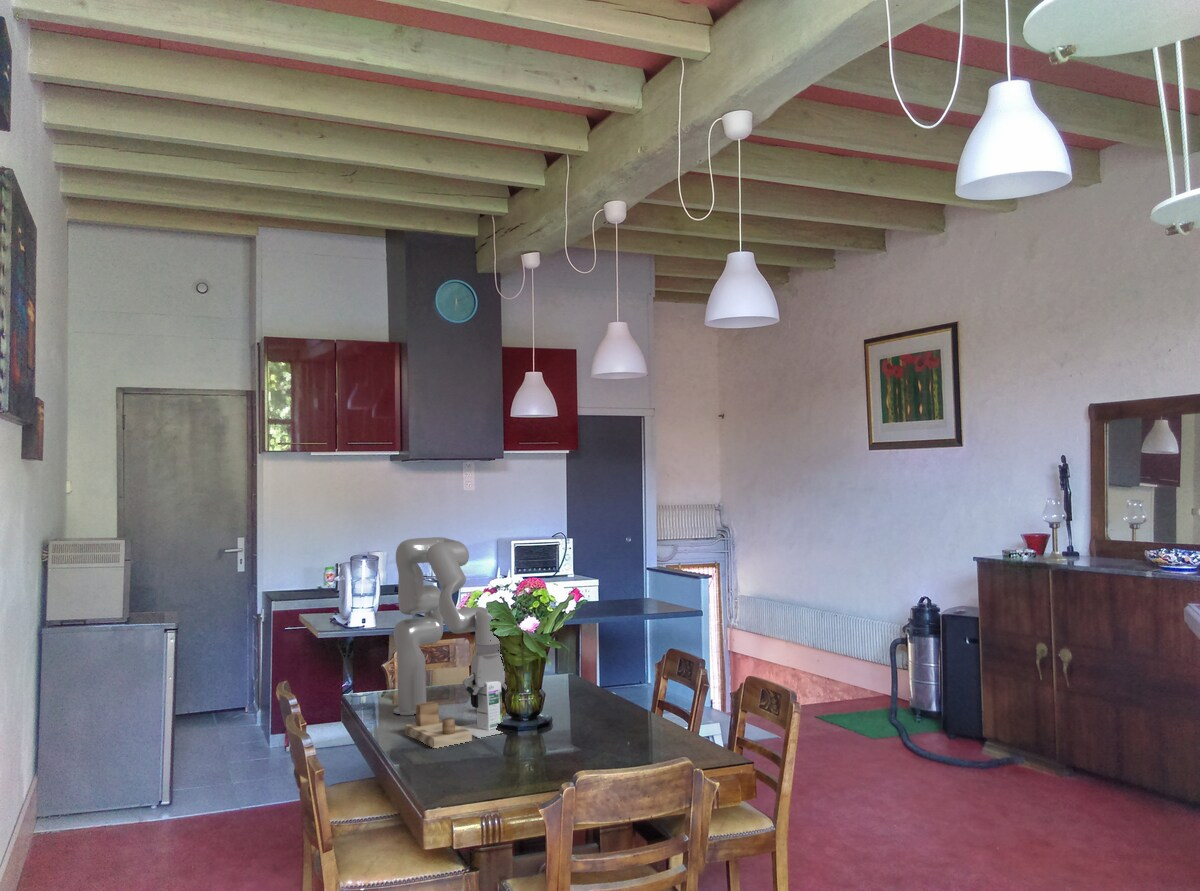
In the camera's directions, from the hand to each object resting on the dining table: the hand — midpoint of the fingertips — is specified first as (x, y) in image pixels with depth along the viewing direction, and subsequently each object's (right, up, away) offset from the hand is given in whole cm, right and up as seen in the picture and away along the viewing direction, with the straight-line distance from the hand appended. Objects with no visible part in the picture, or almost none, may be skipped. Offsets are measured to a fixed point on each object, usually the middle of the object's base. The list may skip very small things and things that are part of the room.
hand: (489, 704), depth 293 cm
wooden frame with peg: (-14, -8, -9) cm, 19 cm away
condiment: (0, -9, +20) cm, 22 cm away
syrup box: (0, -7, 0) cm, 7 cm away
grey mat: (0, -8, -1) cm, 8 cm away
